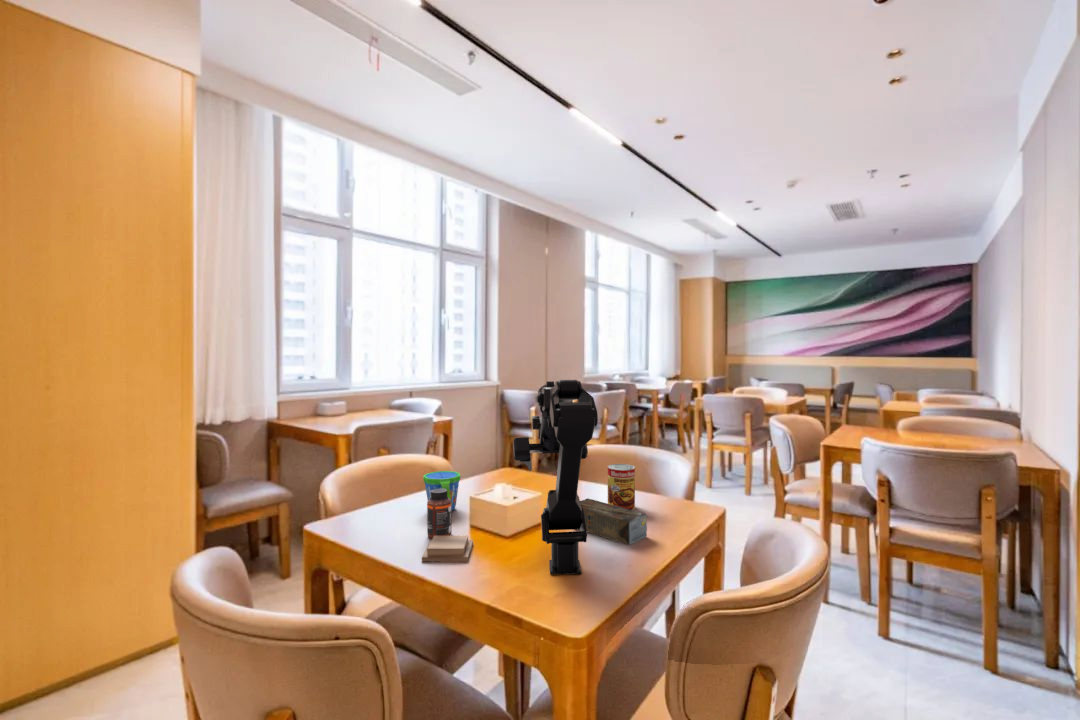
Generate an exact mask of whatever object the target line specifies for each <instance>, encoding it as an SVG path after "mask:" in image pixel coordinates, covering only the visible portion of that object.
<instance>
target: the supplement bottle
mask: <svg viewBox="0 0 1080 720" xmlns="http://www.w3.org/2000/svg"><path fill="white" fill-rule="evenodd" d="M426 503H427V504H426V507H427V508H426V514H427V515H426V520H427V521H426V523H427V524H426V526H427V527H426V528H427V532H426V533H427V537H428V538H430V539H433V537H434V536H452V528H453V527H452V524H453V522H452V511H451V499H450V498H448V497H447V490H446V489H434V490H432V491H431V498H430V499H429V500H427V502H426Z"/></svg>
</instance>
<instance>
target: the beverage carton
mask: <svg viewBox="0 0 1080 720" xmlns="http://www.w3.org/2000/svg"><path fill="white" fill-rule="evenodd" d="M580 504H581V507H583V511H584V517H585V524H586V531H587V533H589V534H593V535H596V536H600V537H603V538H606V539H609V540H612V541H616V542H618V543H623V544H626V545H629V546H631V545H633V544H634V543H637V542H639V541H641V540H643V539H645V538H647V536H648V535H647V533H648V532H647V531H648V525H647V519H648V516H647V514H646V513H642V512H638V511H635V510H629V509H625V508H622V507H618V506H614V505H611V504H608V502H603V501H600V500H596V499H591V498H585V499H583V500H580Z"/></svg>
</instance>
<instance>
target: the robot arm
mask: <svg viewBox="0 0 1080 720" xmlns="http://www.w3.org/2000/svg"><path fill="white" fill-rule="evenodd" d="M545 383H546V384H544V385H542V386H540V388H539V389H538V390H537V395H536V396H535V400H534V401H535V402H534V403H537V405H538V407H539V410H540V413H541V416H539V415H532V417H531V427H532V430H538V433H537V437H538V440H539V443H530V438H529V437H528V436H526V437H525V436H524V437H523V436H522V437H520V436H516V437H514V439H513V441H512V446H513V447H512V448H513V459H514V460H515V461H517V462H518V461H519V462H520V463H524V464H525V466H526V467H527V468H528V470H529V472H531V471H532V469H533V465H532V457H531V454H538V453H539V454H558V462H557V471H556V481H555V482H556V484H555V489H550V490H549V491H548V492H547V499H546V506H545V507H544V508H543V511H542V513H541V515H540V520H541V521H540V524H541V540H542V542H546V544H547V545H548V544H549V545H550V544H551V545H550V546H551V549H550V551H551V553H550V555H551V557H550V558H551V559H549V561H548V563H549V565H548V566H549V574H550V575H582V572H583V571H582V567H581V562H580V559H579V543H587V541H588V540H587V538H588V532H587V531H586V524H585V517H584V511H583V507H581V504H580V501H581V500H580V497H579V495H578V489H579V488H578V486H579V480H580V479H579V477H580V471H581V462H582V460H586V458H588V453H589V452H588V451H589V449H588V445H587V444H588V443H589V442H590V441H591V440H592V439H593V435H594V432H595V427H597V425H598V420H599V417H598V415H599V414H598V410H597V406H596V402H595V399H594V397H593V395H591V394H590V393H589V392H587V391H586V390H585V388H583V385H582V383H581V381H580V380H577V379H559V380H556V381H552V380H550V381H548V380H547V381H546V382H545ZM575 400H576V401H577V402H573V401H575ZM565 530H566V531H565ZM568 530H579V531H568ZM550 531H552V532H550ZM553 531H556V532H553ZM557 531H559V532H557Z"/></svg>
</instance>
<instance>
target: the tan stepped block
mask: <svg viewBox="0 0 1080 720" xmlns="http://www.w3.org/2000/svg"><path fill="white" fill-rule="evenodd" d="M473 545H474V540H473V539H469V535H460V534H459V535H450V536H434V537H433V538H431V540H430V541H429V542H428V545H427V546H426V549H425V551H424V552H423V554H422V556H421V562H422V561H440V562H439V563H441V562H442V563H444V562H445V563H446V562H447V563H450V562H455V563H457V562H459V563H460V562H461V563H463V562H469V559H470V556H471V552H472V550H473Z"/></svg>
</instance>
